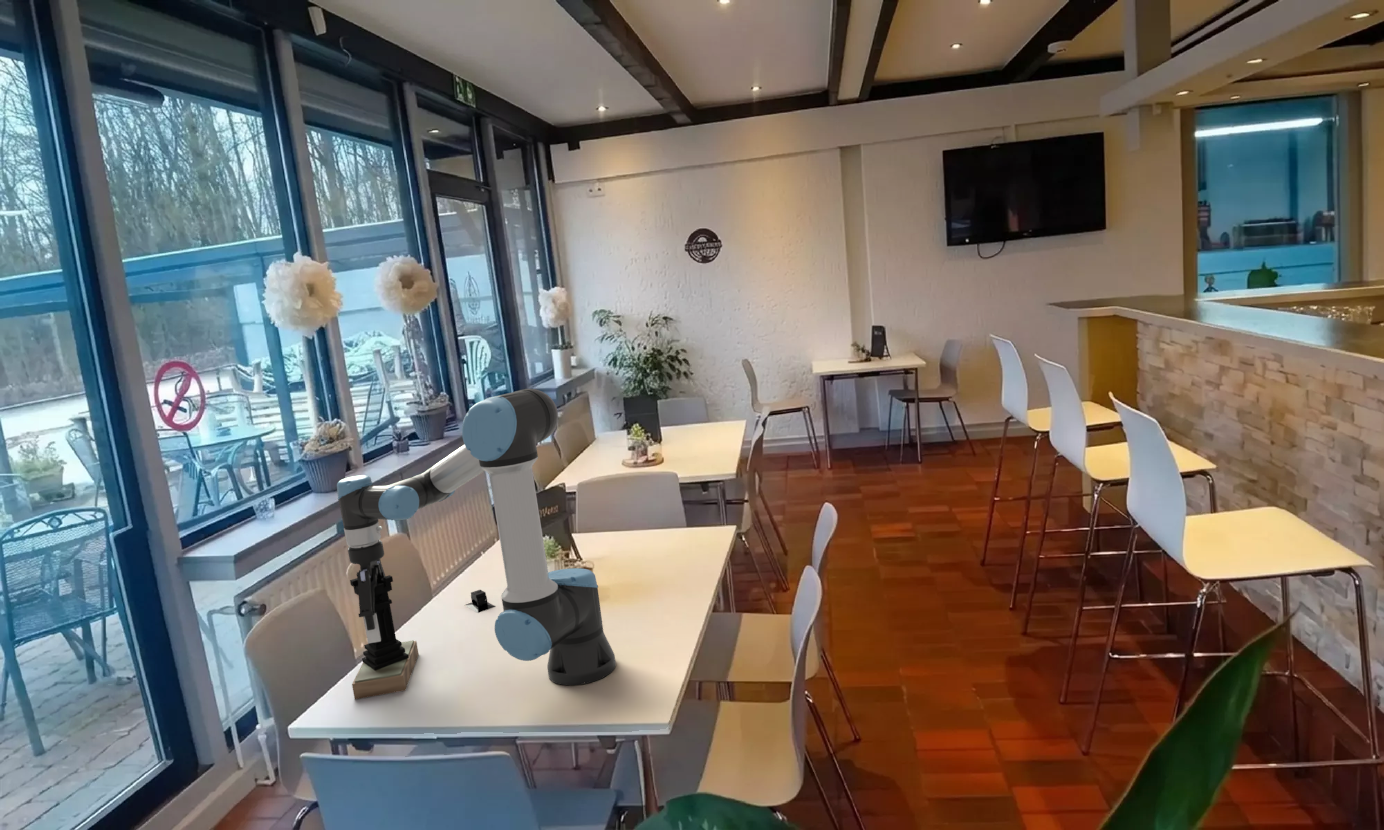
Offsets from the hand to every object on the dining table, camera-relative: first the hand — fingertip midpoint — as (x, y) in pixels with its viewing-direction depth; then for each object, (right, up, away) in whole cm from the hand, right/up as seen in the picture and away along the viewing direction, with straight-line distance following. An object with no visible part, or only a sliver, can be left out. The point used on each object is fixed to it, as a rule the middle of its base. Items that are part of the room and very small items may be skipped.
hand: (380, 630), depth 200 cm
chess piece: (+1, -7, +1) cm, 7 cm away
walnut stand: (+1, -11, +2) cm, 11 cm away
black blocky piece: (+13, -4, +42) cm, 44 cm away
